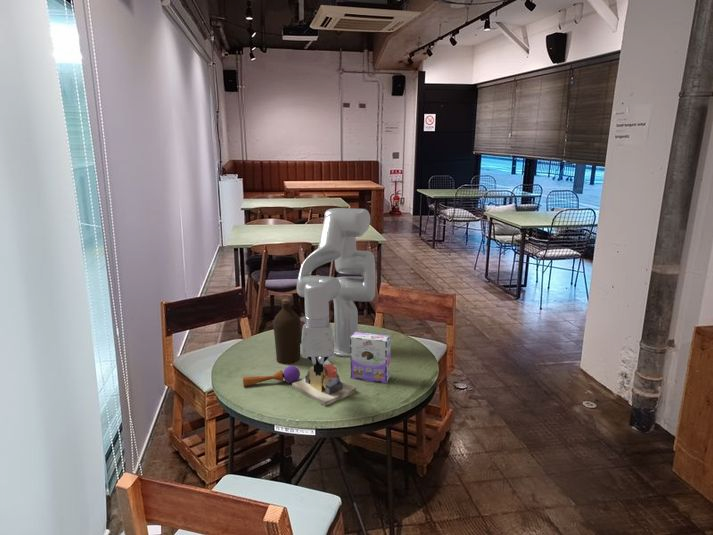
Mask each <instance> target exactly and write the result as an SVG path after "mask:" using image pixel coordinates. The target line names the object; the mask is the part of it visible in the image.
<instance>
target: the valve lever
mask: <svg viewBox="0 0 713 535" xmlns="http://www.w3.org/2000/svg"><path fill="white" fill-rule="evenodd" d="M317 360H318V361H319V360H320V357H317ZM333 365H334V364H333V363H331V362H330V361H329V359H327V360H326V361H325V362H324V363H323V368H324V372H325V373H326V375H327V377H328V378H335V377H337V374H338V370H337V371H336V369H335V367H334V366H335V365H334V366H333Z"/></svg>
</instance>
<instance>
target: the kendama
mask: <svg viewBox="0 0 713 535" xmlns="http://www.w3.org/2000/svg"><path fill="white" fill-rule="evenodd" d="M300 376H301V372H300V370H299V368H298V367H297V366H296V365H295V366H294V365H289V366H287V367H285V368H284V370H282V369H281V370H279V371H278V372H276V373H275V374H273V375H262V376H243V377H242V384H243V387H244V388H245V387H248V386H252V385H256V384H260V383H262V382H266V381H270V380H275V381H280V382H284V380H285V382H287V383H288V384H289V383H290V384H292V383H295V382H297V381H299V379H300Z"/></svg>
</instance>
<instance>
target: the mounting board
mask: <svg viewBox="0 0 713 535" xmlns="http://www.w3.org/2000/svg"><path fill="white" fill-rule="evenodd" d="M340 382H342V383H343V389H342V390H340V391H338V392H335V393H333V394H331V395H328V394H326V392H325V391H323V392H321V391H319V390H317V389H315V388H313V387H311V385H310V384H308V383H306V382H305V377H304V378H303V379H300V380H299V379H298V380H297V381H296V382H294V383H291V387H292V388H293V389H294V390H296V391H297V392H300V393H301V394H303V395H305V396H306V397H308V398H309V399H312V400H313V399H314V400H313V401H315V400H316V401H315V402H317V403H318V402H319V403H318V404H320V403H321V404H320V405H322V404H323V405H322V406H324V407H326V405H327V406H329V405H331V404H333V403H336V402H337V400H338V401H340V400H342V399H344V398H346V397H349V396H350V395H352V394H355V393H356V392H357V387H356V386H353V385H351V384H349V383H348V382H346V381H344V380H341V379H340ZM354 392H355V393H354ZM349 394H350V395H349ZM345 396H346V397H345ZM343 397H344V398H343ZM341 398H342V399H341ZM339 399H340V400H339ZM330 403H331V404H330ZM328 404H329V405H328Z"/></svg>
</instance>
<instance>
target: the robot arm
mask: <svg viewBox="0 0 713 535" xmlns="http://www.w3.org/2000/svg"><path fill="white" fill-rule="evenodd" d="M323 215H324V219H323V223H322V227H321V233H320V236H319V242H318V247H317V249H315V250H314V251H312V252H311V253H310V254H309V255H308V256H307V257H306V258H305V259H304V261H303V262H302V263H301V266H300V268H299V272H298V276H297V281H296V292H297V295H298V296H299V297H301V298H304V316H300V317H301V321H303V322H304V323H305V324H304V325H303V329H302V343H301V344H300V351H301V358H304V359H308V360H309V361H310V362H311V363H312V365H314V372H316V376H317V375H319V376H321V372H323V363H324V362H325V361H326V360H327V359H328V360H329V359H333V358H335V356H337V357H341V358H342V357H348V358H349V357H350V337H351V336H352V335H353V334H354V332H359V324H358V321H359V320H358V316H359V312H358V308H357V305H356V304H355V303H354V302H371V301H373V300H374V298H375V296H376V260H375V255H374V253H373V252H371V251H369V250H358V249H357V238H360V237H362V236H363V235H364V234H366V232H367V231H368V229H369V228H370V225H371V214H370V213H369V210H367V209H366V208H347V207H346V208H345V207H334V208H329V209H327V210H326V211H325V212H324V214H323ZM333 261H334V267H335V272H336V273H339V274H343V275H344V274H345V275H360V276H362V277H360V276H337V277H334V276H330V275H329V276H326V275H311V274H312V273H313V271H314V270H315V269H317V268H318V267H320V266H323V265H326V264H327V263H330V262H333ZM330 301H332V302H333V309H334V310H333V312H334V314H333V316H334V318H333V319H334V321H333V322H334V332H333V326H332V324H331V322H330V307H329V305H330V304H329V302H330ZM318 357H320V360H319V359H318Z"/></svg>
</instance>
